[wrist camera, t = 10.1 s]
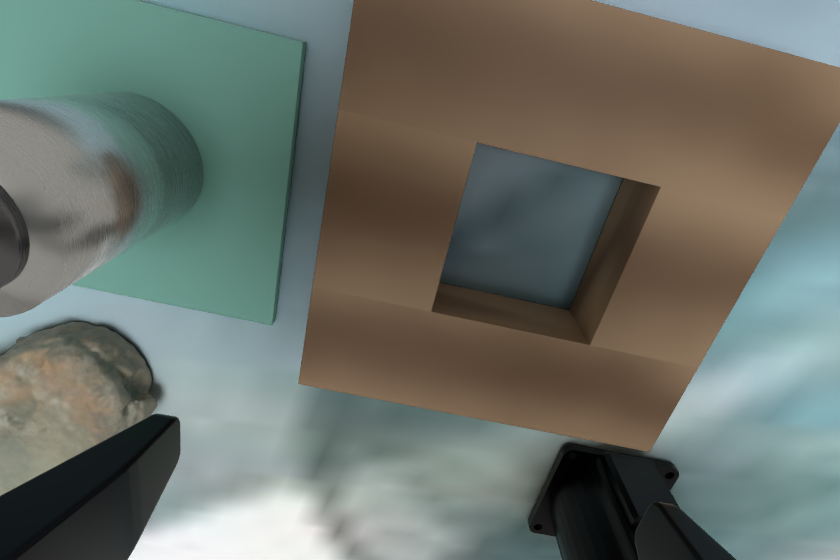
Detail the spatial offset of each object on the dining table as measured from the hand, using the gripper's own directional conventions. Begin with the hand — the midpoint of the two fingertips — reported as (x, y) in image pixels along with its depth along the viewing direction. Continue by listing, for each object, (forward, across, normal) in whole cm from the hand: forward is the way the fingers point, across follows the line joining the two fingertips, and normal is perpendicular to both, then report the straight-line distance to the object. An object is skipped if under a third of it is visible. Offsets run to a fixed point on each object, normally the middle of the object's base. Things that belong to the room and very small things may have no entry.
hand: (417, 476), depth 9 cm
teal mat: (+12, +12, -1) cm, 17 cm away
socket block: (+13, -4, -2) cm, 13 cm away
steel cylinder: (+12, +12, -2) cm, 17 cm away
